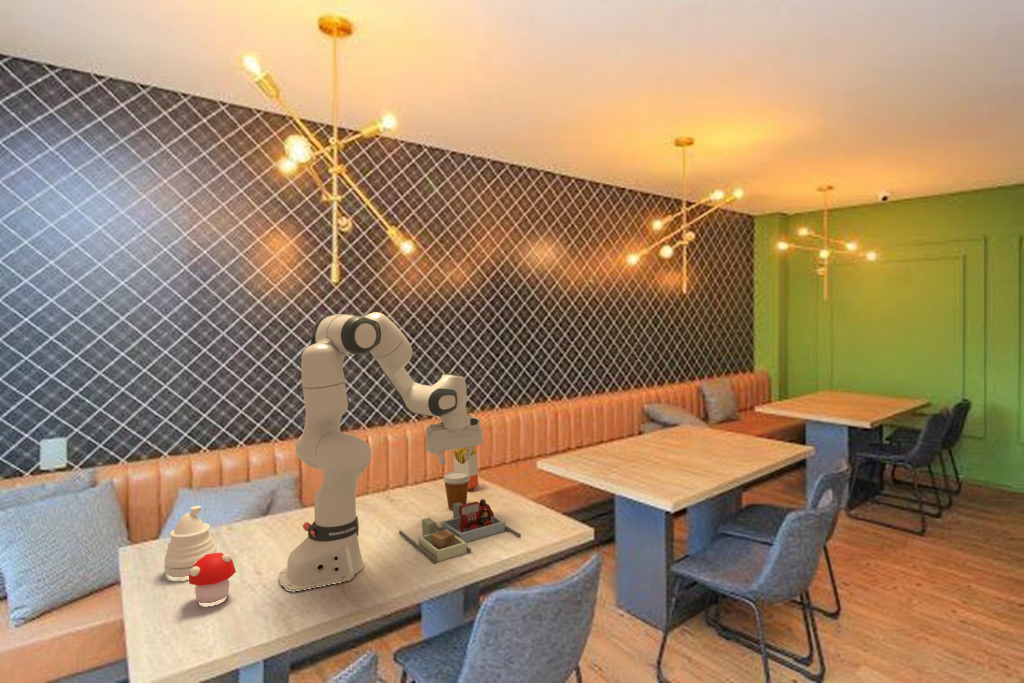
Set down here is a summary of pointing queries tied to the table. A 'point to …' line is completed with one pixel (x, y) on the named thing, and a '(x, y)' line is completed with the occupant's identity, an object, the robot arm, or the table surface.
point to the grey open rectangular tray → (472, 534)
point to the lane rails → (441, 530)
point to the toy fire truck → (475, 515)
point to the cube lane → (441, 554)
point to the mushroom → (212, 577)
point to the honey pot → (188, 544)
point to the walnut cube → (442, 539)
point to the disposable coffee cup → (456, 487)
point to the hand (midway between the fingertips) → (454, 461)
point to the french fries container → (467, 465)
